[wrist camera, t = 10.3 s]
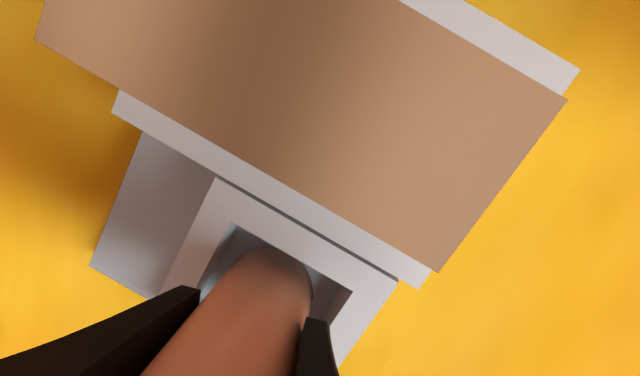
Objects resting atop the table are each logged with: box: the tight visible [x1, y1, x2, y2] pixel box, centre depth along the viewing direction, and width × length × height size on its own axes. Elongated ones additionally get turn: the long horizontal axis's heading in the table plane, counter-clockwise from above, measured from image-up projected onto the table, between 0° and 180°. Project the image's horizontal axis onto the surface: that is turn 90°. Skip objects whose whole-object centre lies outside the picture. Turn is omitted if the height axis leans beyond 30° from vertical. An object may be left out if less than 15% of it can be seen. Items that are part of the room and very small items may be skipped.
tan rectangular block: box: [34, 0, 567, 273], centre depth 8 cm, size 8×3×5 cm, turn 61°
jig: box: [89, 0, 581, 368], centre depth 11 cm, size 10×14×3 cm
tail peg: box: [140, 248, 313, 376], centre depth 8 cm, size 3×3×6 cm
